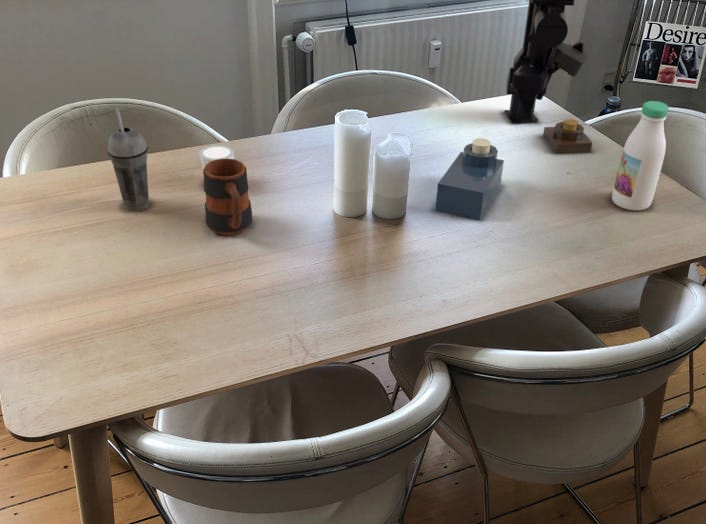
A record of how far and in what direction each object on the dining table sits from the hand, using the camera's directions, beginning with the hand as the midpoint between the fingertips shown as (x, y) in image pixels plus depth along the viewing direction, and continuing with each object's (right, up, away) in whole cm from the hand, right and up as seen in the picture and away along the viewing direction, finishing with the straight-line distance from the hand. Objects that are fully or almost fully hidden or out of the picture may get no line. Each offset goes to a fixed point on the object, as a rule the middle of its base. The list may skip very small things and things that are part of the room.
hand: (533, 107), depth 170 cm
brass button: (+11, -1, +13) cm, 17 cm away
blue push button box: (-14, -19, -4) cm, 24 cm away
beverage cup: (-79, -22, -9) cm, 82 cm away
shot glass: (-64, -16, -2) cm, 66 cm away
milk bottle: (+19, -20, -4) cm, 28 cm away
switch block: (+11, -3, +16) cm, 19 cm away
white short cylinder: (-12, -10, -5) cm, 17 cm away
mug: (-59, -28, -15) cm, 67 cm away
